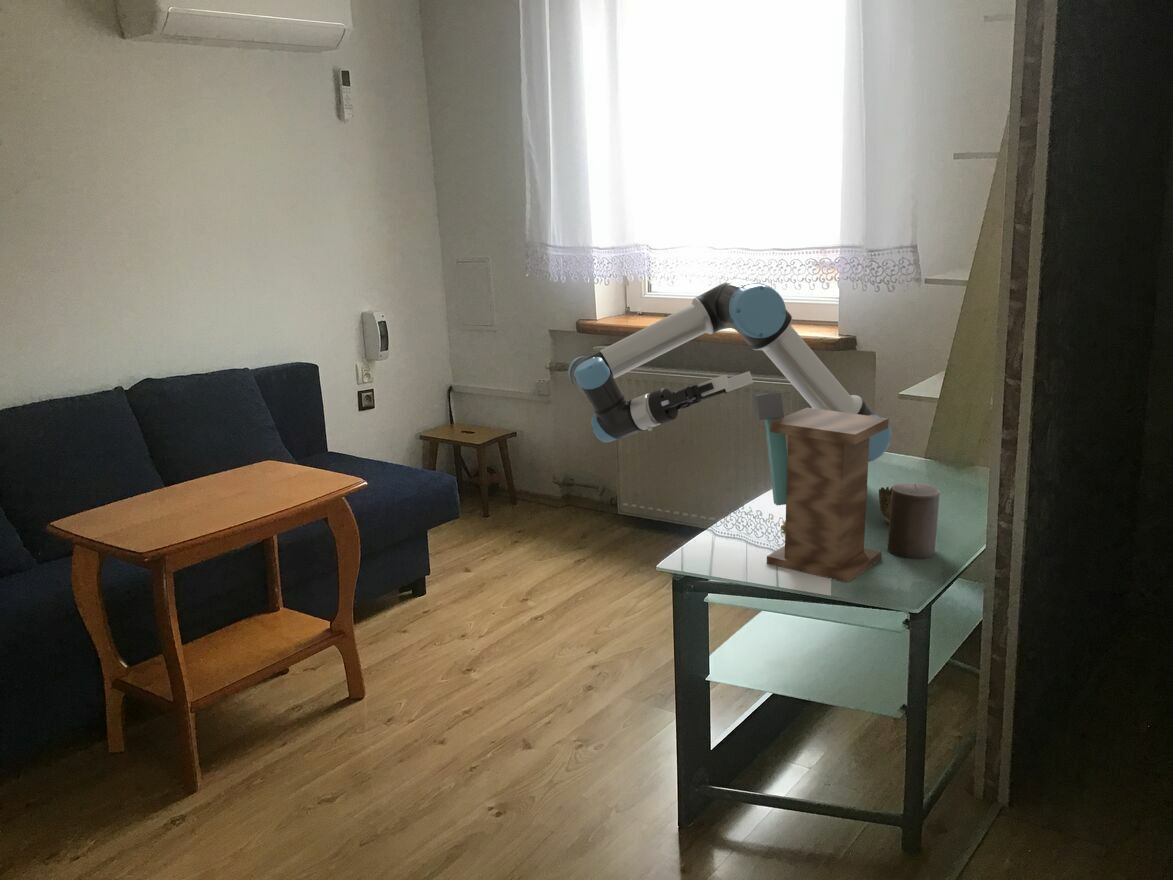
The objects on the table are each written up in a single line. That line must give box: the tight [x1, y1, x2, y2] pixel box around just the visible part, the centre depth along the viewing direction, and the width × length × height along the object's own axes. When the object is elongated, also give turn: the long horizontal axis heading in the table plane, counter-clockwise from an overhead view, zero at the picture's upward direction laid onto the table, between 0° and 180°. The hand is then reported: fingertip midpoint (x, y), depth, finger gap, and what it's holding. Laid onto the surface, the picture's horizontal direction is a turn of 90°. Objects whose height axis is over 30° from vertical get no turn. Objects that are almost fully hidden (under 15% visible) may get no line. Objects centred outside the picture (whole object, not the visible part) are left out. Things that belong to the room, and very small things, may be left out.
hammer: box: [751, 391, 788, 506], centre depth 216 cm, size 23×5×5 cm
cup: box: [878, 486, 893, 526], centre depth 238 cm, size 8×7×8 cm
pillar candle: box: [887, 482, 941, 559], centre depth 221 cm, size 10×10×15 cm
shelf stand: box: [766, 407, 890, 583], centre depth 214 cm, size 18×16×30 cm
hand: (739, 378), depth 225 cm, fingers open, 13 cm apart
